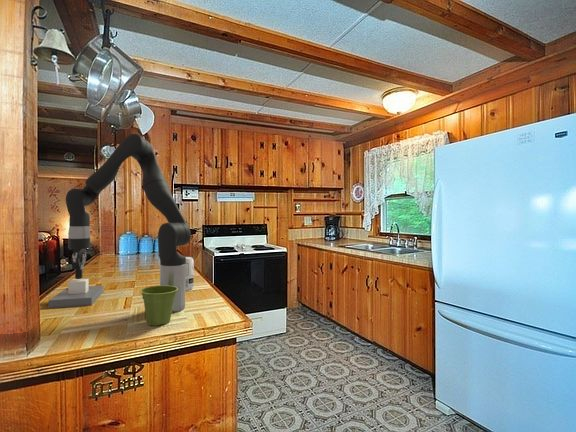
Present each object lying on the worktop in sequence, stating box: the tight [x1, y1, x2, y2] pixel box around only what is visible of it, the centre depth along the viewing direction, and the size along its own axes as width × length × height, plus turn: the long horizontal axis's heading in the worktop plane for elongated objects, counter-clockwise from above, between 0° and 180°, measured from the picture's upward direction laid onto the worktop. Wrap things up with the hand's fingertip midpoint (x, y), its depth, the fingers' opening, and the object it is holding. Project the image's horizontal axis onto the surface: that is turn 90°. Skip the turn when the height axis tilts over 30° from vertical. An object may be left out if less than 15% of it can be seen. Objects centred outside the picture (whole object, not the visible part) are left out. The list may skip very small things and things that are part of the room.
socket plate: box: [48, 285, 104, 309], centre depth 126 cm, size 20×14×4 cm
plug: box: [67, 278, 90, 294], centre depth 126 cm, size 4×6×7 cm
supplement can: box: [185, 256, 195, 291], centre depth 147 cm, size 8×8×15 cm
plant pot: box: [139, 285, 178, 327], centre depth 102 cm, size 12×12×11 cm
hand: (78, 278), depth 126 cm, fingers closed
